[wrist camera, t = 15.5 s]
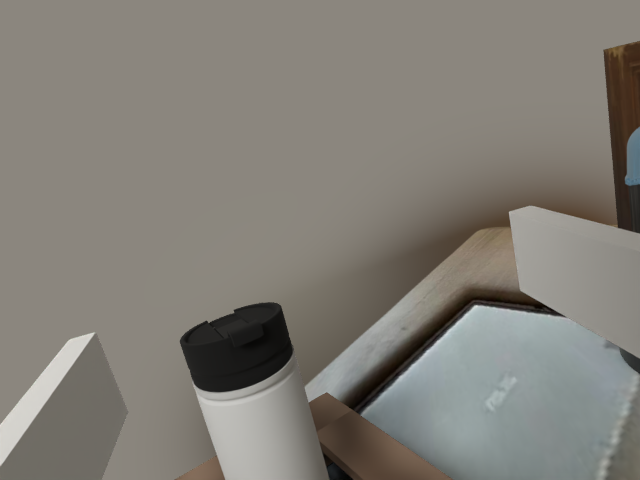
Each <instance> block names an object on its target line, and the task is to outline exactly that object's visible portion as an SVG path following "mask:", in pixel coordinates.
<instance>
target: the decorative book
mask: <svg viewBox="0 0 640 480" xmlns="http://www.w3.org/2000/svg"><path fill="white" fill-rule="evenodd" d="M604 61H605V74H606V85H607V86H606V87H607V99H608V111H609V123H610V135H611V148H612V160H613V171H614V184H615V196H616V209H617V220H618V228H620V229H624V230H627V231H631V232H632V228H631V215H630V202H629V189H628V185H627V184H625V177H626V175H627V143H628V140H629V138H630V136H631V135H632V133H633V132H634V131H635V130H636V129H638V128H639V127H640V41H637V42H633V43H629V44H625V45H621V46H617V47H613V48H609V49H605V50H604Z"/></svg>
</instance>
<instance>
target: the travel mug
mask: <svg viewBox="0 0 640 480" xmlns="http://www.w3.org/2000/svg"><path fill="white" fill-rule="evenodd" d="M180 344H181V347H182V350H183V353H184V356H185V359H186V362H187V365H188V368H189V369H190V373H191V377H192V382H193V386H194V389H195V391H196V394H197V397H198V401H199V404H200V406H201V409H202V412H203V415H204V418H205V421H206V424H207V427H208V430H209V433H210V436H211V439H212V442H213V445H214V448H215V451H216V454H217V457H218V460H219V463H220V466H221V468H222V471H223V474H224V477H225V480H330V479H329V476H328V472H327V468H326V465H325V461H324V457H323V454H322V450H321V446H320V443H319V439H318V435H317V432H316V428H315V424H314V421H313V417H312V413H311V410H310V406H309V403H308V399H307V395H306V392H305V388H304V384H303V381H302V377H301V373H300V370H299V366H298V362H297V359H296V357H295V351H294V348H293V345H292V344H291V340H290V338H289V333H288V329H287V326H286V322H285V318H284V315H283V311H282V308H281V306H280V305H279V304H277V303H270V302H268V303H259V304H253V305H248V306H245V307H241V308H238V309H235V310H234V313H233V314H229V315H226V316H224V317H221V318H219V319H216V320H214V321H212V322H210V323H208V322H207V321H205V322H203V323H201V324H199V325H197V326H195V327H193V328H192V329H190V330H189V331H188V332H186V333H185V334H184V335H183V336H182V338H181V340H180Z"/></svg>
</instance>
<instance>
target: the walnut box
mask: <svg viewBox="0 0 640 480" xmlns="http://www.w3.org/2000/svg"><path fill="white" fill-rule="evenodd" d="M309 406H310V410H311V413H312V417H313V421H314V424H315V428H316V432H317V435H318V439H319V443H320V446H321V450H322V454H323V457H324V461H325V465H326V467H327V466H328V465H330V464H331V463H333V462H334V463H335V464H337V465H338V466H339V467H340V468H341V469H342V470H343V471H344V472H345V473H347V474H348V475H349V476H350V477H351V478H352V479H353V480H453V479H452V478H450V477H449V476H447V475H446V474H444V473H443V472H441V471H440V470H439V469H437V468H436V467H434V466H433V465H431V464H430V463H428V462H427V461H425V460H424V459H423V458H421V457H420V456H418V455H417V454H415V453H414V452H412V451H411V450H410V449H408V448H407V447H405V446H404V445H402V444H401V443H399V442H398V441H397V440H395V439H394V438H392V437H391V436H389V435H388V434H386V433H385V432H384V431H382V430H381V429H379V428H378V427H376V426H375V425H373V424H372V423H370V422H369V421H368V420H366V419H365V418H363V417H362V416H360V415H359V414H357V413H356V412H355V411H353V410H352V409H350V408H349V407H347V406H346V405H344V404H343V403H342V402H340V401H339V400H337V399H336V398H334V397H333V396H331V395H330V394H328V393H327V392H326V393H325V394H323V395H321V396H319V397H318V398H316V399H314V400H312V401H311V402H309ZM175 480H225V477H224V474H223V471H222V468H221V466H220V463H219V460H218V457H217V456H215V457H213V458H212V459H210V460H208V461H206V462H205V463H203V464H201V465H199V466H198V467H196V468H194V469H192V470H191V471H189V472H187V473H186V474H184V475H182V476H180V477H179V478H177V479H175Z"/></svg>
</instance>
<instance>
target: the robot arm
mask: <svg viewBox="0 0 640 480" xmlns="http://www.w3.org/2000/svg"><path fill="white" fill-rule="evenodd" d="M625 184H627V185H628V189H629V202H630V215H631V228H632V232H631V231H627V230H624V229H620V228H616V227H612V226H608V225H604V224H600V223H596V222H593V221H588V220H585V219H581V218H577V217H573V216H569V215H565V214H562V213H558V212H554V211H550V210H546V209H542V208H538V207H534V206H527V207H524V208H521V209H517V210H514V211H510V212H509V216H510V223H511V230H512V237H513V244H514V251H515V258H516V265H517V272H518V279H519V285H520V291H522V292H524V293H526V294H527V295H529V296H531V297H533V298H534V299H536V300H538V301H540V302H541V303H543V304H545V305H547V306H548V307H550V308H552V309H554V310H555V311H557V312H559V313H561V314H562V315H564V316H566V317H568V318H569V319H571V320H573V321H575V322H576V323H578V324H580V325H582V326H584V327H585V328H587V329H589V330H591V331H592V332H594V333H596V334H598V335H599V336H601V337H603V338H605V339H606V340H608V341H610V342H612V343H613V344H615V345H617V346H619V347H620V352H621V355H622V357H623V358H624V360H625V361H626V362H627V363H628V364H629V365H630V366H631V367H632V368H633V369H634V370H636V371H637V372H639V373H640V127H639V128H638V129H636V130H635V131H634V132H633V133H632V135H631V136H630V138H629V140H628V143H627V175H626V177H625ZM127 414H128V410H127V407H126V405H125V403H124V400H123V398H122V395H121V393H120V390H119V388H118V385H117V383H116V380H115V378H114V375H113V373H112V371H111V368H110V366H109V363H108V361H107V358H106V356H105V353H104V351H103V349H102V346H101V343H100V341H99V339H98V336H97V334H96V332H94V333H91V334H87V335H84V336H80V337H77V338H73V339H70V340H69V341H68V342H67V343H66V345H65V346H64V347H63V348H62V349H61V350H60V352H59V353H58V354H57V355H56V357H55V358H54V359H53V360H52V362H51V363H50V364H49V365H48V367H47V368H46V369H45V370H44V372H43V373H42V374H41V375H40V376H39V378H38V379H37V380H36V381H35V383H34V384H33V385H32V387H30V389H29V390H28V391H27V393H26V394H25V395H24V396H23V398H22V399H21V400H20V401H19V402H18V404H17V405H16V406H15V407H14V409H13V410H12V411H11V412H10V413H9V415H8V416H7V417H6V418H5V420H4V421H3V422H2V423H1V425H0V480H101V479H102V477H103V475H104V472H105V469H106V467H107V465H108V462H109V459H110V457H111V454H112V452H113V449H114V447H115V444H116V442H117V439H118V437H119V434H120V431H121V429H122V426H123V424H124V421H125V419H126V416H127Z"/></svg>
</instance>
